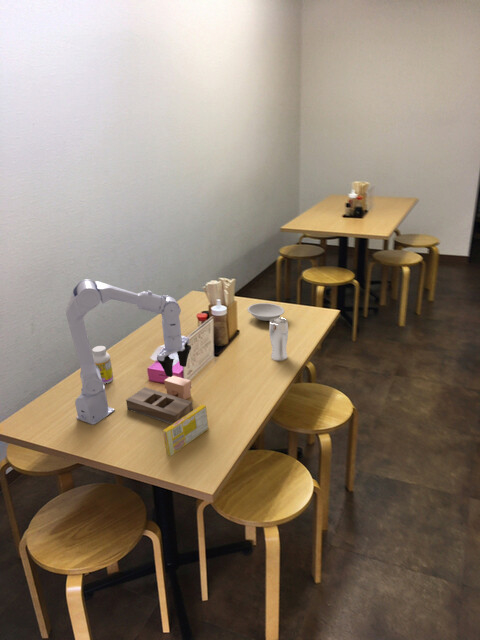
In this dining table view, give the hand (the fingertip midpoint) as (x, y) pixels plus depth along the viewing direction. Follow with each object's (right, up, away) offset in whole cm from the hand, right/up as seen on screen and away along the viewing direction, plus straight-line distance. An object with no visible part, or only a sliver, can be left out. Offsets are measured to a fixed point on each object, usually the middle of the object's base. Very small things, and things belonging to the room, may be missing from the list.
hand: (176, 370), depth 178 cm
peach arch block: (+1, -9, +3) cm, 9 cm away
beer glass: (+36, +3, +26) cm, 44 cm away
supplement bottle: (-28, -5, +16) cm, 33 cm away
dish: (+33, +17, +59) cm, 70 cm away
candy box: (+6, -19, -20) cm, 28 cm away
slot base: (-5, -12, -4) cm, 14 cm away
